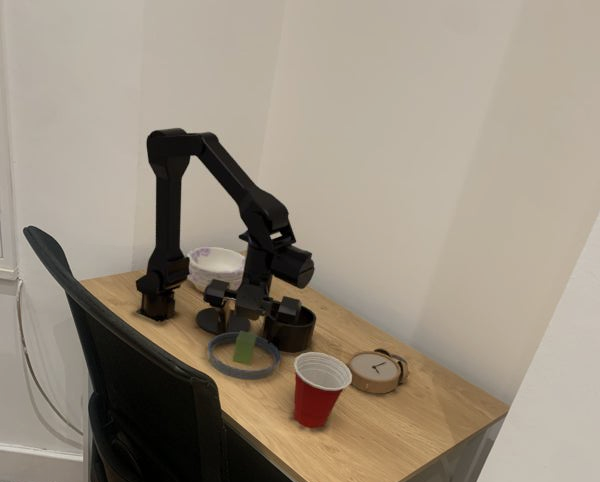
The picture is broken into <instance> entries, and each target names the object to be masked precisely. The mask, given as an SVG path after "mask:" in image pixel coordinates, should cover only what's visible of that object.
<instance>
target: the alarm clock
mask: <svg viewBox="0 0 600 482" xmlns="http://www.w3.org/2000/svg"><path fill="white" fill-rule="evenodd" d="M396 360H397V361H396ZM347 363H348V364H347V367H348V368H349V370H350V372H351V374H352V381H351V383H350V384H351V385H352V386H354V387H356V388H357V389H358V390H361V391H364V392H365V393H366V392H367V393H370V394H385V393H390V392H392V391H393V390H395V389H396V388H397V386H398V384H400V383H404V382H406V381H407V379H408V378H409V375H410V374H411V371H410V369H409V362H408V361H407V360H406V359H405V358H404V357H402V356H400V355H398V354H394V353H391V352H390V351H389V350H388V349H386V348H384V347H377V348H376V349H374V350H361V351H357V352H354V353H353V354H351V356H350V357H349V359H348V362H347Z"/></svg>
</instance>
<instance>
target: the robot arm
mask: <svg viewBox="0 0 600 482" xmlns="http://www.w3.org/2000/svg"><path fill="white" fill-rule="evenodd" d="M145 143H146V144H145V145H146V153H147V161H148V165H149V167H150V168H151V170H152V172H153V174H154V176H155V245H154V248H153V251H152V253H151V254H150V257H149V258H148V260H147V266H146V272H145V273H146V274H144V275H142V276H140V277H139V278H137V280H135V287H136V291H138V292H139V293H141V302H140V303H141V304H140V309H138V310H136V311H135V312H136V314H139V315H141V316H143V317H145V318H148V319H150V320H152V321H154V322H157V323H162V322H164V321H167V320H169V319H171V318H173V317H174V316H175V315H176V314H177V311H175V309H176V299H175V291H174V290H178V289H181V286H182V284H184V283H185V282H187V280H188V278H187V277H188V275H190V271H189V263H190V258H189V257H187V255H185V254H184V252H183V251H182V249H181V224H182V223H181V222H182V221H181V219H182V185H183V184H182V183H183V182H182V181H183V177H184V175H185V173H186V171H187V169H188V167H189V165H190V162H191V157H196V158H197V159H198V160H199V161H200V162H201V164H202V165H203V166H204V167H205V168H206V170H207V171H208V172H209V173H210V174H211V175H212V176H213V178H214V179H215V180H216V181H217V182H218V184H219V185H220V186H221V187H222V188H223V190H225V192H226V193H227V194H228V195H229V197H231V199H232V200H233V201H234V203H235V204H236V206H237V207H238V212H239V217H240V219H241V220H242V223H243V224H244V226H245V227H246V230H245V231H244V232H242V233H240V234H238V239H239V240H241V241H243V242H246V243H247V246H246V252H245V264H244V270H243V276H242V282H241V284H240V286H239V288H238V289H237V290H236V291H235V290H230V283H229V282H225V281H221V280H217V279H212V280H211V281H210V282H209V284H208V285H207V287H206V288H205V291H204V293H203V298H202V301H203V302H204V303H207V304H209V307H210V308H212V307H214V308H215V309H216V310H217V312H218V315H219V318H220V322H221V326H222V330H223V333H226V330H227V325H228V314H229V305H230V302H231V301H233V302H234V307H233V310H234V315H235V316H236V317H243V318H247V319H249V321H252V322H256V321H258V320H259V319H260V317H263V318H264V316H265V315H267V316H269V315H270V313H271V310H274V311H278V314H277V316H276V319H275V322H274V324H273V327H272V330H271V332H270V335H269V338H268V343H267V344H270V342H271V341H272V339H273V337H274V336H275V334H276V333H277V331H278V330H279V329H280V328H281V326H283V325H289V324H290V323H292V324H295V323H297V320H298V317H299V313H300V309H301V305H302V306H303V304H302V301H301V300H300V299H298V298H294V297H289V296H286V295H283V296H282V298H281V301H279V300H275V299H274V298H273V297H272V296H270V293H271V287H272V282H273V277H274V278H275V279H278V280H280V281H281V282H284V283H286V284H289V285H291V286H293V287H295V288H297V289H299V290H303V289H305V288H306V287H307V286H308V285H309V284H310V282H311V280H312V278H313V277H314V273H315V269H316V268H315V261H314V260H313V259H312V258H313V257H312V256H313V253H312V252H311V251H308V250H305V249H302V248H300V247H297V246H295V245H294V244H297V239H296V236H295V233H294V230H293V228H292V225H291V222H290V219H289V218H290V217H289V215H290V213H289V210H288V208H287V206H286V205H285V204H284V203H283V202H281V200H279V199H278V198H277V197H276V196H274V195H273V194H272V193H270V192H268V191H266V190H263V189H262V188H260V187H259V186H258V185H257V184H256V183H255V182H254V181H253V179H252V178H250V176H249V174H247V173H246V172H245V170H244V169H243V168H242V167H241V166H240V164H239V163H238V162H237V160H235V159H234V158H233V156H232V155H231V154H230V153H229V152H228V150H227V149H226V148H225V147H224V145H222V143H221V142H220V140H219V137H218V136H217V135H216V134H215V133H213V132H211V131H204V132H187V131H186V130H185V129H183V128H182V127H172V128H165V129H164V128H162V129H154V130H153V131H151V132H150V133H149V135H147V137H146V141H145ZM275 234H276V235H277V234H280V236H277V237H274V238H272V236H273V235H275Z"/></svg>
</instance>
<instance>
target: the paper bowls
mask: <svg viewBox="0 0 600 482" xmlns="http://www.w3.org/2000/svg"><path fill="white" fill-rule="evenodd" d="M186 257H189V258H190V263H189V271H190V275H188V277H187V280H189V281H190V282H191V283H192V284H193V286H194V287H195V288H196V289H197V290H198V291H199V292H202V293H203V294H204V291H205V288H206V287H207V285H208V284H209V282H210V281H211V280H212V279H217V280H221V281H225V282H229V283H230V290H235V291H238V288H239V286H240V284H241V282H242V276H243V270H244V264H245V258H246V256H244V255H243V254H241V253H239V252H237V251H235V250H231V249H227V248H223V247H216V246H203V247H197V248H194V249H191V250H190V251H188V252H187V254H186Z"/></svg>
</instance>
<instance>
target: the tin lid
mask: <svg viewBox="0 0 600 482" xmlns="http://www.w3.org/2000/svg"><path fill="white" fill-rule="evenodd" d="M195 321H196V324H197V325H198V327H200V329H202V331H203V330H204V331H205V332H207V333H209V334H212V335H215V336H218V335H220V334H223V330H222V326H221V322H220V318H219V315H218V312H217V310H216V309H215V308H214V307H207V308H203V309H201V310H199V311H198V312H197V314H196V316H195ZM251 325H252V323H251V320H250V319H247V318H243V317H236V316H235V315H234V309H232V306H231V305H230V304H229V314H228V325H227V330H226V333H230V332H240V331H244V332H248V333H249V331H250V329H251Z"/></svg>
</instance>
